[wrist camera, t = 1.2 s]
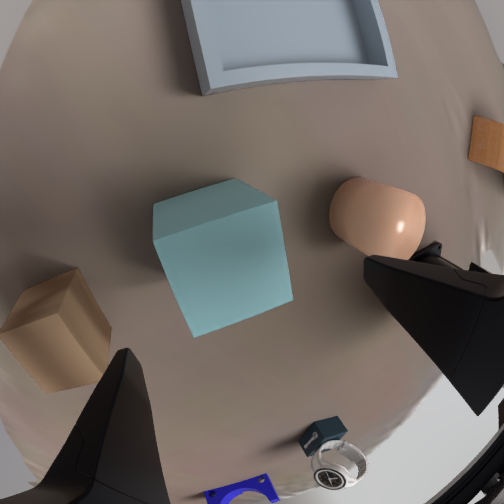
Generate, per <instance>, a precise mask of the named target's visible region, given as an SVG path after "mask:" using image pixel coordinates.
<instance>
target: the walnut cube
mask: <svg viewBox="0 0 504 504" xmlns="http://www.w3.org/2000/svg"><path fill="white" fill-rule="evenodd" d="M111 329H112V328H111V326H110V324H109V323H108V321H107V319H106V318H105V316H104V314H103V313H102V311H101V309H100V308H99V306H98V304H97V302H96V300H95V299H94V297H93V295H92V293H91V291H90V290H89V288H88V286H87V284H86V282H85V280H84V278H83V276H82V274H81V272H80V270H79V268H75V269H73V270H70V271H68V272H65V273H63V274H61V275H58V276H56V277H53V278H51V279H48V280H46V281H44V282H41V283H39V284H37V285H34V286H32V287H30V288H28V289H25V290H24V291H23V292H22V294H21V296H20V297H19V299H18V300H17V302H16V304H15V305H14V307H13V309H12V310H11V312H10V314H9V315H8V317H7V319H6V321H5V323H4V324H3V326H2V328H1V330H0V338H1V340H2V341H3V342H4V344H5V345H6V346H7V348H8V349H9V350H10V352H11V353H12V354H13V356H14V357H15V358H16V359H17V361H18V362H19V363H20V364H21V365H22V367H23V368H24V369H25V370H26V371H27V373H28V374H29V375H30V376H31V377H32V378H33V379H34V380H35V382H36V383H37V384H38V385H39V386H40V387H41V388H42V389H43V390H44V391H45V392H46V393H52V392H57V391H62V390H66V389H71V388H76V387H80V386H84V385H89V384H93V383H97V382H99V381H100V379H101V377H102V376H103V374H104V372H105V371H106V369H107V367H108V358H109V347H110V338H111Z"/></svg>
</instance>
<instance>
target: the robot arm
mask: <svg viewBox="0 0 504 504" xmlns="http://www.w3.org/2000/svg"><path fill="white" fill-rule="evenodd" d="M441 249H442V244H441V243H439V242H437V243H435V244H433V245H432V246H430V247H428V248H426V249H425V250H423V251H421V252H419V253H417V254H415V255H414V256H412V257H410V259H408V260H404V259H398V258H392V257H386V256H380V255H370V256H368V257H366V258H365V259H364V269H363V276H364V280H365V282H366V283H367V285H368V286H369V287H370V288H371V290H372V291H373V292H374V294H375V295H376V296H377V298H378V299H379V300H380V301H381V303H382V304H383V305H384V307H385V308H386V309H387V310H388V311H389V312H390V314H391V315H392V316H393V317H394V318H395V319H396V320H397V321H398V322H399V323H400V324H401V326H402V327H403V328H404V329H405V330H406V331H407V332H408V333H409V334H410V336H411V337H412V338H413V339H414V340H415V341H416V342H417V343H418V345H419V346H420V347H421V348H422V349H423V350H424V351H425V353H426V354H427V355H428V356H429V357H430V358H431V360H432V361H433V362H434V363H435V364H436V365H437V367H438V368H439V369H440V370H441V371H442V373H443V374H444V375H445V376H446V377H447V379H448V380H449V381H450V382H451V384H452V385H453V386H454V387H455V389H456V390H457V391H458V392H459V393H460V395H461V396H462V397H463V399H464V400H465V401H466V402H467V404H468V405H469V406H470V408H471V409H472V410H473V411H474V413H475V414H476V415H477V416H479V415H480V414H481V413H482V412H483V410H484V409H485V408H486V407H487V406H488V404H489V403H490V402H491V401H492V400H493V398H494V397H495V396H496V395H497V393H498V392H499V390H500V389H501V388H502V387H504V275H497V274H492V273H491V272H489V271H487V270H485V269H484V268H482V267H480V266H478V265H476V264H474V263H472V262H471V264H470V266H469V267H470V268H469V270H468V271H467V270H463V269H462V268H460V267H458V266H457V265H455V264H453V263H451V262H450V261H448V260H446V259H444V258H443V257H441V256H440V255H441ZM498 413H499V430H498V432H497V433H496V434H495V435H494V437H493V438H492V439H491V440H490V441H489V443H488V444H487V445H486V446H485V447H484V448H483V449H482V451H481V452H480V453H479V454H478V455H477V456H476V457H475V458H474V459H473V460H472V461H471V462H470V464H469V465H468V466H467V467H466V468H465V469H464V470H463V471H462V472H461V473H459V475H457V476H456V477H455V478H454V479H453V480H452V481H451V482H450V483H449V484H448V485H447V486H445V487H444V488H443V489H442V490H441V491H440V492H438V493H437V494H436V495H435V496H434V497H432V498H431V499H430V500H429V501H427V502H426V503H425V504H467V503H469V502H470V501H471V500H472V499H473V498H474V497H475V496H476V495H477V494H478V493H479V491H480V490H481V491H482V492H483V493H484V495H485V497H484V498H482V499H481V500H480V501H478V502H476V503H475V504H504V399H503V400H502V401H501V403H500V404H499V405H498ZM0 504H170V501H169V497H168V493H167V489H166V485H165V481H164V476H163V472H162V467H161V463H160V458H159V453H158V448H157V442H156V436H155V430H154V424H153V417H152V411H151V405H150V400H149V396H148V392H147V388H146V384H145V379H144V375H143V370H142V367H141V364H140V362H139V361H138V360H137V358H136V357H135V355H134V354H133V352H132V351H131V349H129V348H124V349H120V350H118V351H117V352H116V354H115V356H114V357H113V359H112V361H111V362H110V364H109V366H108V367H107V369H106V371H105V372H104V374H103V376H102V377H101V379H100V381H99V382H98V384H97V386H96V388H95V389H94V391H93V393H92V395H91V396H90V398H89V400H88V402H87V404H86V405H85V407H84V409H83V411H82V413H81V414H80V416H79V418H78V420H77V422H76V424H75V425H74V427H73V429H72V431H71V433H70V435H69V437H68V438H67V440H66V442H65V444H64V445H63V447H62V449H61V450H60V452H59V454H58V455H57V457H56V459H55V460H54V462H53V463H52V465H51V467H50V468H49V470H48V472H47V473H46V475H45V477H44V478H43V480H42V481H41V482H40V483H39V484H38V485H37V486H36V487H34V488H32V489H30V490H27V491H25V492H22V493H19V494H16V495H13V496H10V497H7V498H4V499H0Z"/></svg>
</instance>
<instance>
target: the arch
mask: <svg viewBox="0 0 504 504" xmlns="http://www.w3.org/2000/svg"><path fill="white" fill-rule="evenodd" d="M468 159H469V160H471V161H474V162H477V163H480V164H483V165H486V166H489V167H491V168H494V169H496V170H499V171H501V172H503V173H504V124H501V123H498V122H495V121H492V120H489V119H485V118H481V117H476V116H474V117H473V127H472V135H471V143H470V149H469V156H468Z"/></svg>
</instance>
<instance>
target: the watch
mask: <svg viewBox="0 0 504 504" xmlns="http://www.w3.org/2000/svg"><path fill="white" fill-rule="evenodd" d="M347 431H348V430H347V429H346V428H345V426H344V425H343V423H342V422H341V420H340V419H339V418H338V416H336V417H332V418H328V419H324V420H320V421H315V422H314V423H313V424H312V426H311V427H310V428H309V429H308V431H307V432H306V433H305V434H304V435H303V437H302V438H301V439H300V440H299V441H298V442H299V443H300V445H301V447H302V449H303V451H304V452H305V454H306V456H307V457H309V456H312V455H313V457H312V460H311V468H312V469H311V471H312V473H313V478H314V480H315V481H316V483H317V484H319V485H320V486H322V487H324V488H326V489H330V490H339V489H345V488H349V487H351V486H353V485H354V484H355V483H357V482H358V481H359V480H361V479H362V478H363V477H364V476H365V475H366V473H367V471H368V462H367V460H366V457H364V455H363V452H362V451H360V450H359V449H358V448H357V447H355V446H354V445H352V444H350V443H348V442H346V441H339V440H340V439H341V438H342V437H343V436H344V434H345V433H346V432H347ZM333 448H334V449H336V450H337V452H339V453H341V454H342V455H344V456H346V457H347V458H348V459H349V460H351V461H354V462H355V464H357V466H358V470H359V472H358V477H357V478H356V479H355V477H353V476H352V475H350V474H349V472H348V471H347V469H346V468H344V467H343V466H341V465H339V464H336V463H330V462H328V461H327V460H325V459H322V460H321V457H320V456H321V453H322V452H325V451H328V450H330V449H333Z"/></svg>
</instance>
